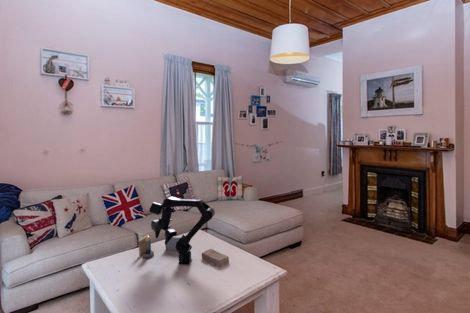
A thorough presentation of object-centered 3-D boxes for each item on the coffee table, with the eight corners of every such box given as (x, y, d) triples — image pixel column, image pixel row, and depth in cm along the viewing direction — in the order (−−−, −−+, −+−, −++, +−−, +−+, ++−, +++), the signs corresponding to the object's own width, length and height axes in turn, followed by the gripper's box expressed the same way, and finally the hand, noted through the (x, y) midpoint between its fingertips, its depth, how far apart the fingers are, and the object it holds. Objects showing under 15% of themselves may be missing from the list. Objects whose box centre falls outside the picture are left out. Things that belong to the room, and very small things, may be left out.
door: (151, 248, 191) (150, 233, 190) (141, 256, 178) (140, 240, 178) (149, 247, 191) (148, 233, 190) (139, 255, 179) (138, 240, 178)
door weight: (155, 255, 179) (155, 235, 178) (147, 259, 174) (146, 238, 173) (149, 253, 183) (149, 233, 182) (141, 256, 178) (140, 236, 177)
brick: (229, 263, 169) (229, 255, 169) (219, 268, 163) (219, 260, 163) (211, 255, 180) (210, 248, 180) (201, 259, 174) (200, 252, 174)
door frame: (183, 250, 188) (183, 236, 187) (182, 251, 186) (182, 238, 185) (149, 247, 193) (149, 234, 192) (148, 248, 191) (147, 235, 190)
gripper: (145, 212, 169) (141, 236, 171) (164, 225, 158) (158, 251, 160) (161, 210, 178) (156, 233, 180) (179, 222, 166) (174, 247, 168)
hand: (161, 241), depth 172 cm, fingers open, 9 cm apart
